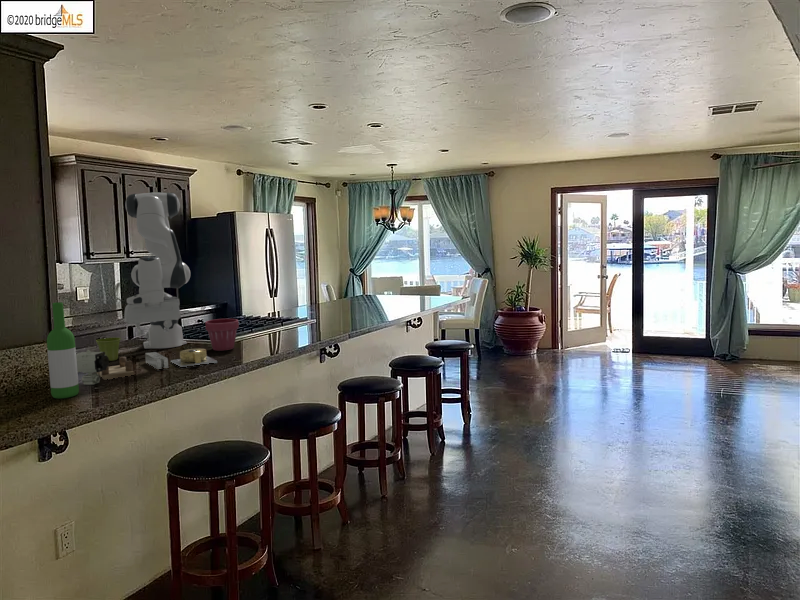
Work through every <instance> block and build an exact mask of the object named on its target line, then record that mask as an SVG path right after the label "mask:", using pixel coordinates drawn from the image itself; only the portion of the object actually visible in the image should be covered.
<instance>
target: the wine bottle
mask: <svg viewBox="0 0 800 600" xmlns="http://www.w3.org/2000/svg"><path fill="white" fill-rule="evenodd" d="M51 305H52V316H53V317H52V318H53V329H52V330H51V331H50V332H49V333H48V335H47V338H46V348H47V351H46V352H47V359H48V371H49V384H50V394H51V396H52V397H53V398H54V399H57V400H58V399H69V398H73V397H75V396H78V394H79V392H80V387H79V386H80V384H79V375H78V373H79V372H78V371H77V360H76V353H77V352H76V351H77V350H76V348H77V347H76V341H75V340H76V339H75V334H73V331H71V330H70V329H69V328H67V327H66V322H65V310H64V309H65V308H64V303H63V302H61V301H60V302H59V301H58V302H53V303H52V304H51Z"/></svg>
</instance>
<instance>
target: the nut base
mask: <svg viewBox="0 0 800 600" xmlns="http://www.w3.org/2000/svg"><path fill="white" fill-rule="evenodd" d="M171 362H172V363H171ZM170 363H171V364H173V363H174V364H176V365H178V366H180V367H186V368H188V367H187V366H193V367H195V366H194V365H200V364H207V365H210V364H209V363H214V364H218V360H217V359H215V358H213V357H210V356H208V355H207V359H206V360H203V361H201V363H195V362H181V361H180V358H177V359H170ZM174 364H173V365H174ZM176 365H175V366H176ZM178 366H177V367H178ZM200 366H201V365H200ZM180 367H179V368H180Z"/></svg>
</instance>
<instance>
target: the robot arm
mask: <svg viewBox="0 0 800 600" xmlns="http://www.w3.org/2000/svg"><path fill="white" fill-rule="evenodd" d="M124 204H125V211H126V212H127V215H128V216H129V217H131V218H134V219H136V229H137V232H138V233H139V235H140V237H142V238H143V239H144V242H145V243H144V244H145V249H146V251H147V252H148V253H149V254H152V255H145V256H141V257H139V259H138V262H137V263H138V264H136V265H134V267H132V270H131V273H130V275H131V276H130V277H131V280H132V282H133V283H134V285H136V286H137V287H139V288H138V294H135V295H133V296H129V297H127V298H126V303H127V304H126V306H125V308H124V314H123V315H124V316H123V318H124V323H126V324H127V325H133V324H134V326H135V328H136V329H137V331H138V335H139V336H141V335H144V339H146V341H143V343H142V345H143V348H144V349H170V348H175V347H176V348H177V347H181V346H182V345H186V344H187V343H188V342H187V341H186V340H184V335H183V328H182V326H181V325H180V324H179V319H181V310H180V305H181V303H180V298H179V297H177V296H175V295H171V294H169V293H167V292H165V291H164V289H166V288H167V289H168V288H169V289H171V288H172V289H180V288H181V287H183V286H184V285H185V284H187V283H188V282H189V281H190V278H191V270H190V267H189V266H188V265H187V264H186V263H185V262H183V260H182V257H181V252H180V248H179V245H178V241H177V237H176V234H175V232H174V230H173V229H171V227H170V221H169V219H170V220H171V219H172V218H173V217H175V216H176V217H177V215H178V214H179V212H180V208H181V203H180V199H179V198H178V196H177V194H176V193H172V192H160V191H159V192H142V193H132V194H129V195H128V196H127V197H126V198H125V203H124ZM141 323H142V324H143V323H144V324H145V323H150V324H149V325H150V326H149V328H148V330H147V331H146V332H145V333H144V329H142V328H140V326H141Z"/></svg>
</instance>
